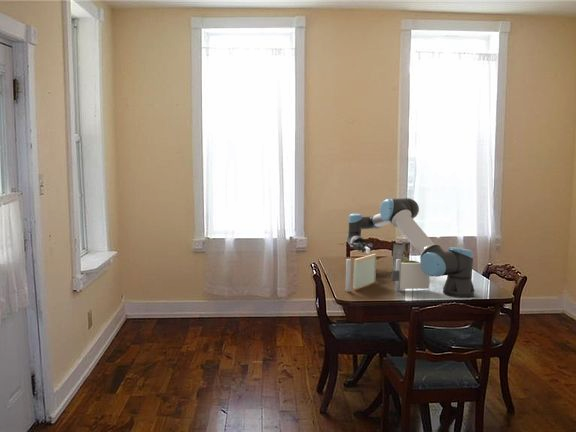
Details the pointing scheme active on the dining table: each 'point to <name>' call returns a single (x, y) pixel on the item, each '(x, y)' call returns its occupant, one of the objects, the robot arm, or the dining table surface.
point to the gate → (364, 271)
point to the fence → (400, 276)
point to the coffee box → (400, 252)
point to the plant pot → (409, 261)
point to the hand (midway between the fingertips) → (368, 251)
